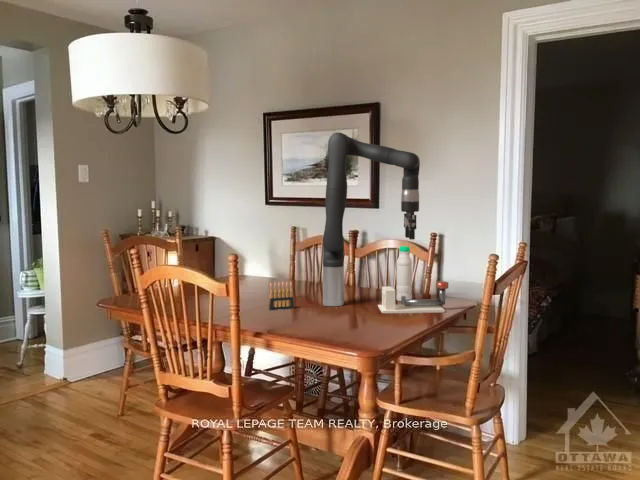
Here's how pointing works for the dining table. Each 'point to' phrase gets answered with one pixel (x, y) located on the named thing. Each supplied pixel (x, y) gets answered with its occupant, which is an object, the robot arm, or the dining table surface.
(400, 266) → the water bottle
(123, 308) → the dining table surface
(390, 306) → the cream l-shaped stand
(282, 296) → the ammunition clip
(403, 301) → the ball knob lever
